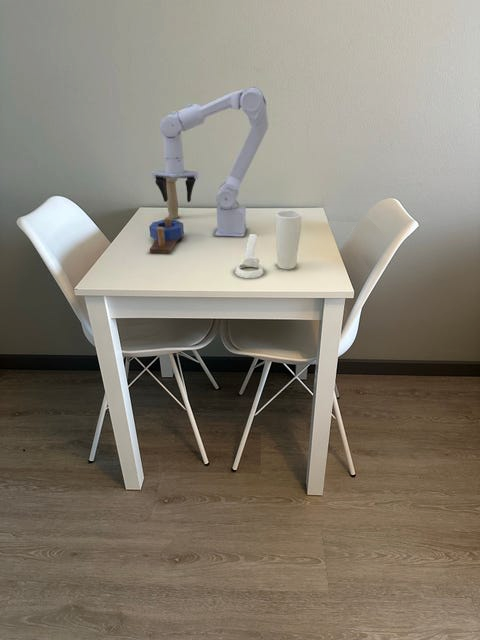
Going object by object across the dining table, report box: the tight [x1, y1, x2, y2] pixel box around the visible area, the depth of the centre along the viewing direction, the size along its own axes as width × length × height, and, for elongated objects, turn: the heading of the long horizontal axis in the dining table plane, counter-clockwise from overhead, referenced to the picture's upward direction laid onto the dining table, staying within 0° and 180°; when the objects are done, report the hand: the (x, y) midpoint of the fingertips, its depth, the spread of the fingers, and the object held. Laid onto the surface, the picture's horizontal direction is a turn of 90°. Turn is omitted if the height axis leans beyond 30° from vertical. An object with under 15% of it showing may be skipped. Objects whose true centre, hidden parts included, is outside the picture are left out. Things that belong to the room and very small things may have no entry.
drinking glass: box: [275, 209, 302, 270], centre depth 127 cm, size 7×7×15 cm
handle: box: [166, 178, 179, 220], centre depth 166 cm, size 5×6×15 cm
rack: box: [149, 216, 181, 255], centre depth 144 cm, size 6×15×7 cm, turn 173°
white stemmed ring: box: [234, 233, 264, 279], centre depth 127 cm, size 8×12×7 cm
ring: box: [148, 219, 185, 241], centre depth 149 cm, size 10×10×3 cm
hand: (177, 201), depth 151 cm, fingers open, 7 cm apart
